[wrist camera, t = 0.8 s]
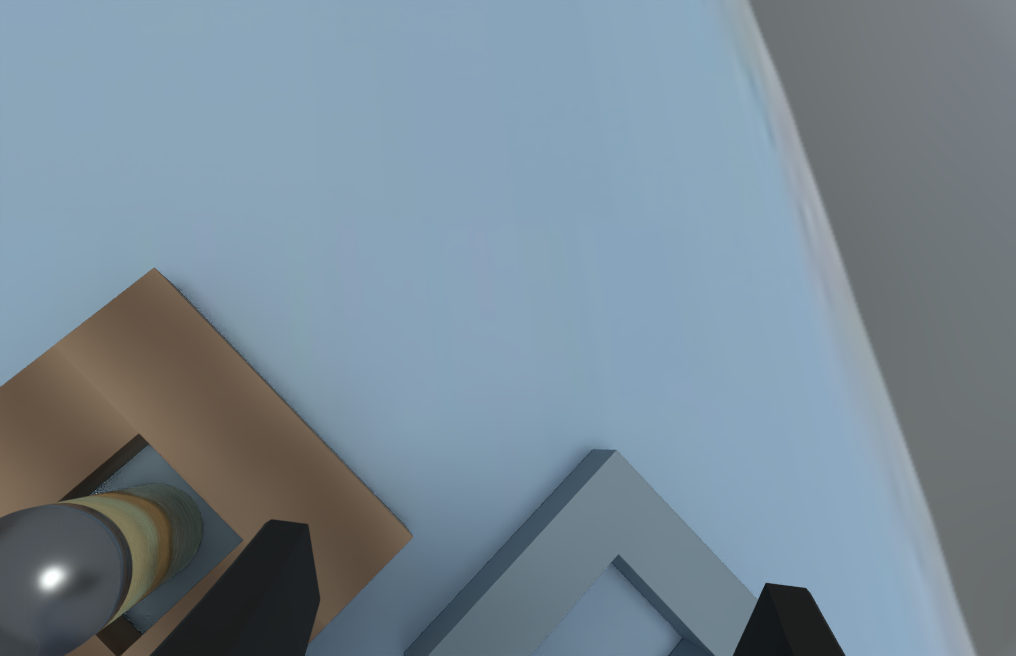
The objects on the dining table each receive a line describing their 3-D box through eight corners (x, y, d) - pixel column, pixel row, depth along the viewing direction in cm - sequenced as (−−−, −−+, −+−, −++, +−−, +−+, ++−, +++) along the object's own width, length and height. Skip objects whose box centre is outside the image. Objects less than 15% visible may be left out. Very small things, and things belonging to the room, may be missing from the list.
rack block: (597, 853, 25) (624, 898, 22) (403, 653, 25) (409, 676, 22) (766, 633, 28) (806, 651, 25) (593, 449, 27) (616, 450, 25)
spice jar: (145, 603, 23) (22, 699, 14) (76, 533, 23) (-89, 588, 14) (223, 531, 24) (152, 580, 15) (157, 463, 24) (48, 475, 15)
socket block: (127, 811, 22) (99, 856, 20) (-147, 537, 22) (-209, 549, 19) (407, 527, 25) (413, 536, 23) (173, 284, 25) (154, 267, 22)
